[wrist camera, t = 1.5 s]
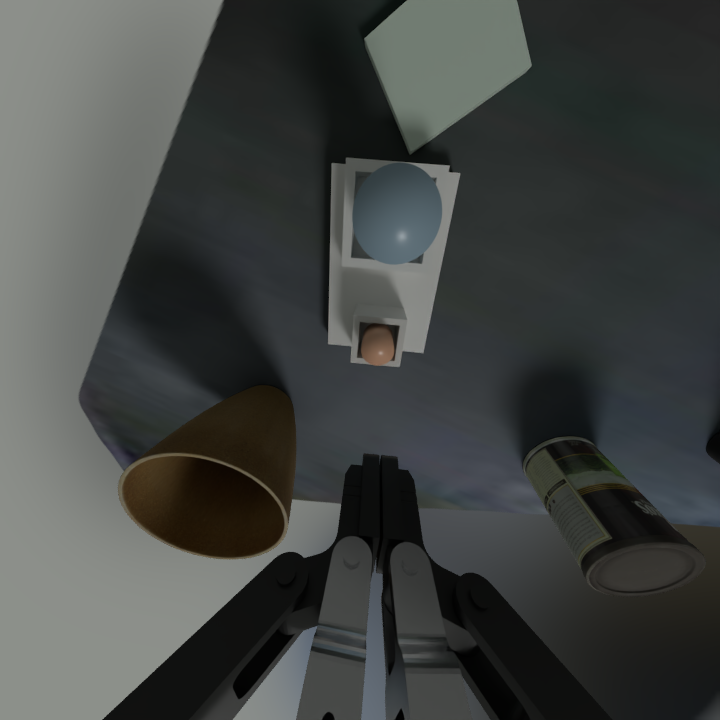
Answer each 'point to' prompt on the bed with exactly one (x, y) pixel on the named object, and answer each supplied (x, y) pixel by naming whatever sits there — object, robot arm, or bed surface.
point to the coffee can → (609, 521)
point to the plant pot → (219, 478)
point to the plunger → (377, 344)
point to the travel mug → (714, 448)
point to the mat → (445, 60)
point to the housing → (381, 269)
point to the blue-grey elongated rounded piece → (397, 213)
